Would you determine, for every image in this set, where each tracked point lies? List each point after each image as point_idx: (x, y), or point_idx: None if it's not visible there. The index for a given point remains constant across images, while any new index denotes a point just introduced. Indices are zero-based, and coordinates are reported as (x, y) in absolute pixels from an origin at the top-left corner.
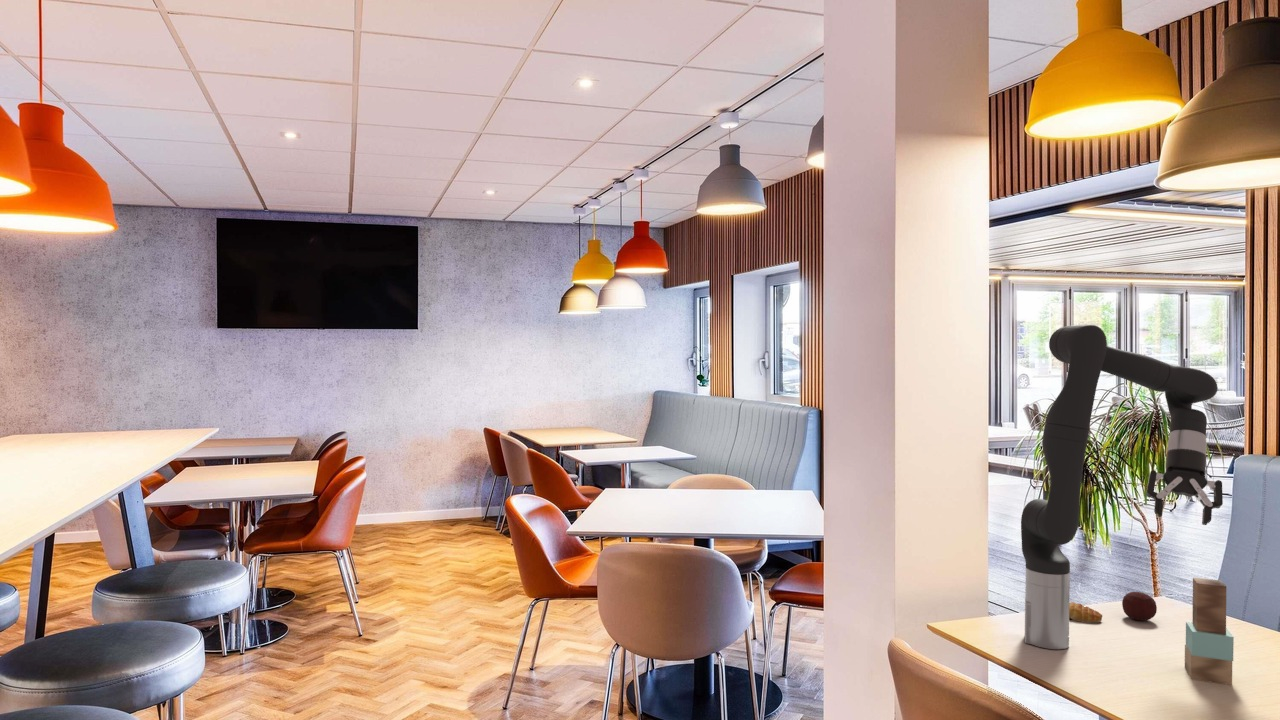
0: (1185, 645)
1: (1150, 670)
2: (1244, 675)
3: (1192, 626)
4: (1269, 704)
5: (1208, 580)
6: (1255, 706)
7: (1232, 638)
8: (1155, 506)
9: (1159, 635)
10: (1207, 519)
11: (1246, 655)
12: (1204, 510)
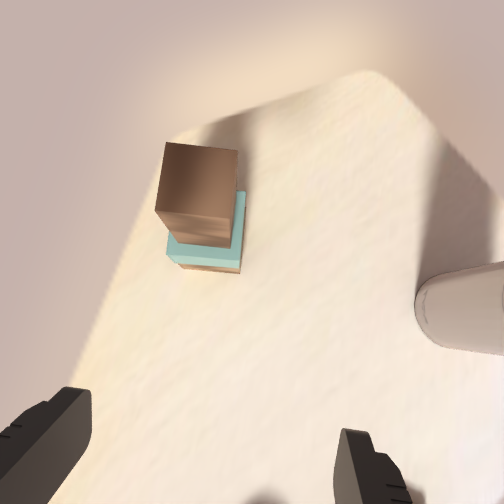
0: (240, 262)
1: (298, 234)
2: (152, 270)
3: (236, 227)
4: (163, 154)
5: (193, 197)
6: (186, 140)
7: None
8: (409, 500)
9: (238, 461)
10: (54, 396)
11: (105, 392)
12: (24, 456)
